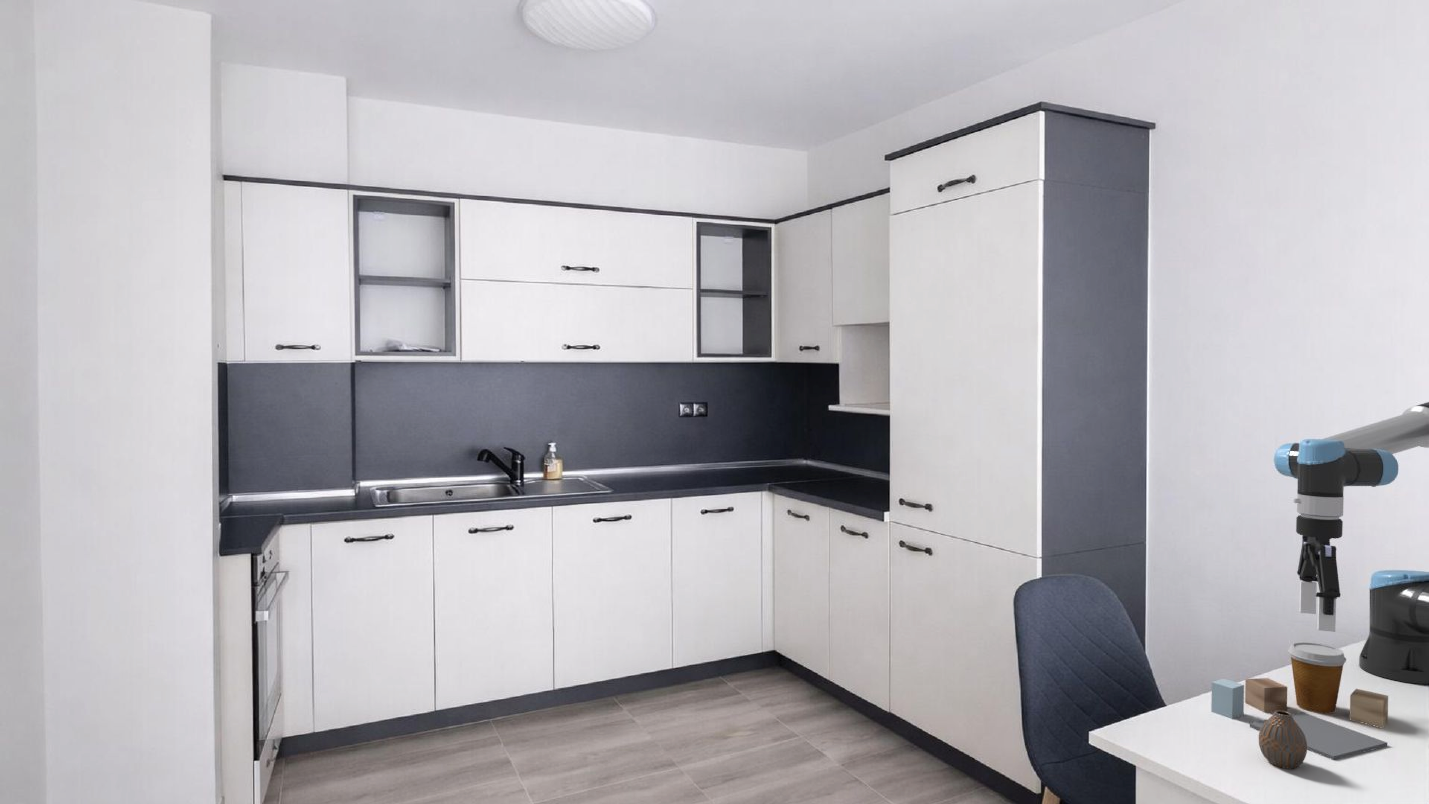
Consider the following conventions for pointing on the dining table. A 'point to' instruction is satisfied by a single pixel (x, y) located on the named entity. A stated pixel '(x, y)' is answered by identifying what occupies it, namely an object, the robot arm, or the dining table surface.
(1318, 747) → the mat
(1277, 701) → the block
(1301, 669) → the disposable coffee cup
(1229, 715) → the block
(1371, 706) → the block
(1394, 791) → the dining table surface
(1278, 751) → the vase
